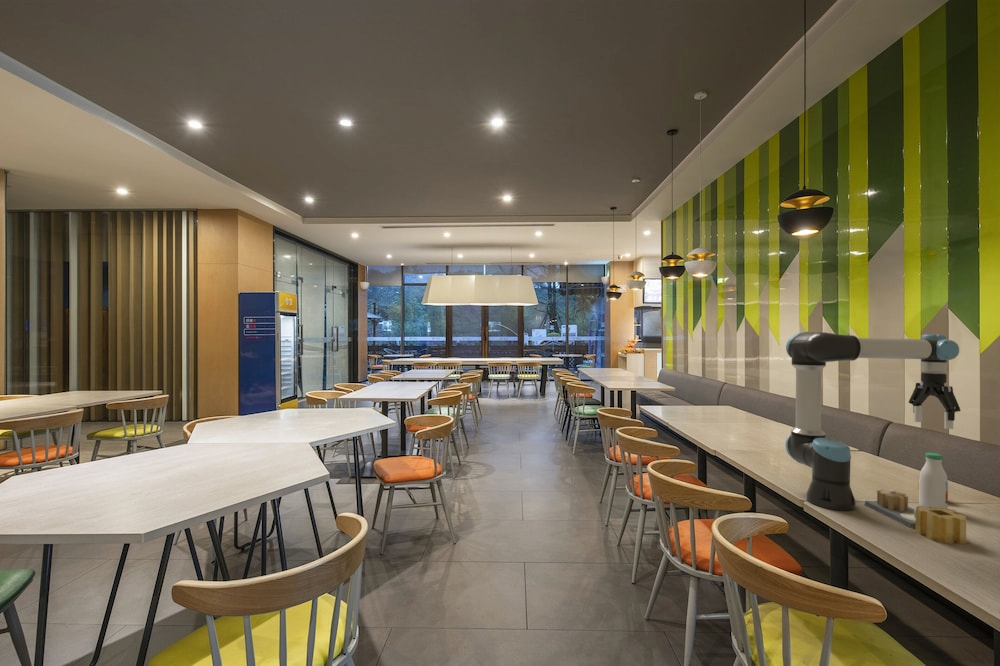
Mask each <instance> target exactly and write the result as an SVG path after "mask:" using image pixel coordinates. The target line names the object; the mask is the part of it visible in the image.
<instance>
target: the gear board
mask: <svg viewBox="0 0 1000 666" xmlns="http://www.w3.org/2000/svg"><path fill="white" fill-rule="evenodd" d="M876 491H877V492H876V493H877V494H876V495H877V497H876V501H875V500H864V506H867V507H869V508H870V509H872V510H874V511H876V512H878V513H881V514H882V515H884V516H886V517H889V518H891V519H892V520H893V521H894V520H895V521H896V522H898V523H900V522H901V524H902V523H903V525H904V524H905V526H906V525H907V527H908V526H909V528H910V527H913V528H912V529H916V509H917V506H914V507H911V506H909V496H908V495H907V493H904V492H900V491H897V490H894V489H886V488H885V489H884V488H883V489H877V490H876Z"/></svg>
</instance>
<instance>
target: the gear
mask: <svg viewBox="0 0 1000 666" xmlns="http://www.w3.org/2000/svg"><path fill="white" fill-rule="evenodd" d="M916 507H917V509H916V528H915V533H917V534H919V535H924V536H926V538H927V539H929V540H932V541H937V542H939V543H942V542H943V543H944V544H950V545H951V544H953V543H956V544H960V545H966V543H967V516H965V515H963V514H960V513H959V514H958V513H955V511H953V510H950V509H947V510H946V509H943V508H937V507H929V508H925V507H923V506H920V505H918V506H916Z"/></svg>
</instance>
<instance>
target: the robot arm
mask: <svg viewBox="0 0 1000 666" xmlns="http://www.w3.org/2000/svg"><path fill="white" fill-rule="evenodd" d="M785 348H786V349H785V350H786V353H787V355H788V356H789V358H791V365H792V366H793V368H795V426H794V427H793V428H792V429H791V430H790V435H789V436H788V437H786V440H785V445H784V446H785V450H786V452H787V455H788V456H789V457H790V458H791V459H792V460H794V461H796V462H797V463H800V464H802V465H805V466H807V467H809V468H811V473H812V474H811V482H810V484H809V486H808V489H807V490H806V495H805V497H806V501H807V502H809V503H811V504H813V505H816V506H818V507H822V508H825V509H830V510H834V511H853V510H855V509H856V503H857V502H856V499H855V496H854V493H853V491H852V488H851V459H852V454H851V448H850V446H849V445H848V444H847V443H845V442H843V441H840V440H837V439H833V438H828V437H826V433H825V431H823V430H822V426H821V425H822V369H824V368H825V367H827V366H826V365H827V363H830V362H831V363H832V362H843V361H844V362H846V361H847V362H848V361H849V362H850V361H852V362H853V361H856V360H858V359H902V360H921V362H920V371H921V373H920V381H921V382H916V383H915V388H914V389H913V392H912V394H911V396H910V398H909V400H908V404H910V405H912V406H913V409H912V410H913V416H914V417H913V422H914V423H922V422H923V408H924V407H923V405H922V404H923V403H924V402H925V401H926V400H927V398H928V397H929V396H933V397H936V398H937V399H938V400H939V402H940V403H941V405H942V406H943V408H944V409H945V411H944V418H943V419H944V421H943V422H944V424H943V425H944V430H945V429H946V430H953V429H954V421H955V419H956V417H955V415H956V414H955V413H957V412H961V407H960V406H959V403H958V401H957V398H956V395H955V394H954V389H953V386H952V385H951V386H949V385H948V386H947V385H946V386H945V383H947V381H948V379H947V378H948V375H947V374H946V373H947V372H948V371H947V369H948V367H947V365H948V361H950V360H955V359H956V358H957V356H958V355H959V353H960V347H959V344H958V343H957V342H956V341H954V340H952V339H948V337H947V335H946V334H922V335H921V338H878V337H877V338H874V337H873V338H872V337H871V338H869V337H867V338H866V337H864V338H863V337H857V336H856V335H852V334H851V335H850V334H848V335H847V334H839V333H831V332H820V331H819V332H817V331H816V332H815V331H814V332H813V331H811V332H809V331H804V332H798V333H796V334H793V335H792V336H791V337H789V339H788V340H787V342H786V345H785Z"/></svg>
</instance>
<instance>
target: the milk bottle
mask: <svg viewBox="0 0 1000 666" xmlns="http://www.w3.org/2000/svg"><path fill="white" fill-rule="evenodd" d="M924 454H925V463H924V465H923V467H922V468H921V469H920V473H919V482H918V484H919V489H918V490H919V491H918V504H919V506H923V507H925V508H929V507H937V508H943V509H946V510H948V506H949V505H948V504H949V503H948V502H949V500H948V498H949V492H948V491H949V481H948V476H947V475H948V474H947V472H946V471H945V469H944V467H943V464H942V462H943V455H942V454H939V453H937V452H926V453H924Z"/></svg>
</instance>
